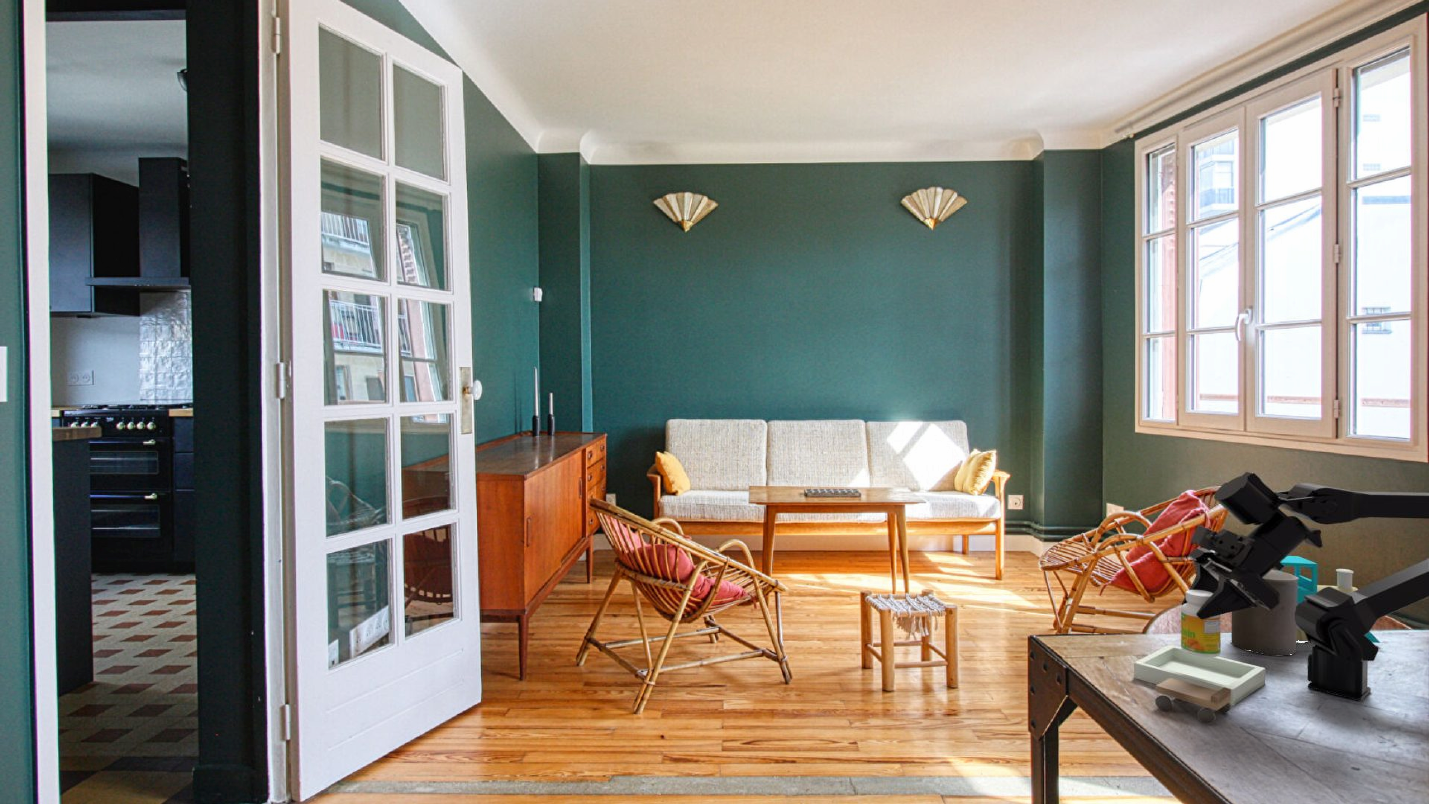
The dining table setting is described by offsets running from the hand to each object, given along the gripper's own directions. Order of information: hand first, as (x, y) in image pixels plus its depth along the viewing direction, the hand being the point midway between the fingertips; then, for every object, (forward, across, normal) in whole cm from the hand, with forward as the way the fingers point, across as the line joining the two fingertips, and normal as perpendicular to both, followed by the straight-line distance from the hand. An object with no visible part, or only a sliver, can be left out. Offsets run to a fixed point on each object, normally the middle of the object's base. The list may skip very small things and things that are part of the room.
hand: (1190, 611), depth 121 cm
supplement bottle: (+4, 0, +6) cm, 7 cm away
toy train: (-14, -27, +31) cm, 44 cm away
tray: (+7, 0, +9) cm, 11 cm away
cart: (+11, +13, +4) cm, 18 cm away
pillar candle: (-6, -20, +22) cm, 30 cm away
